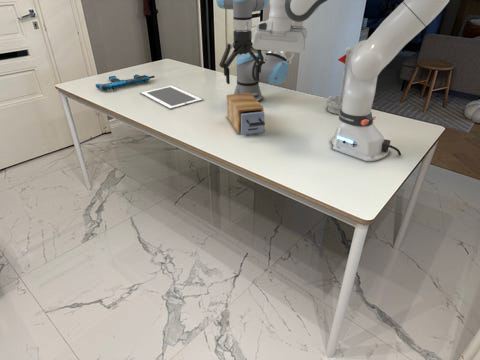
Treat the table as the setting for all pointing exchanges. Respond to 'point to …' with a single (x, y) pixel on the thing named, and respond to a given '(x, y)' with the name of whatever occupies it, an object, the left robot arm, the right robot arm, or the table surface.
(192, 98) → the tablet
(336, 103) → the flag stand
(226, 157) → the table surface
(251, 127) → the drawer
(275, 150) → the table surface
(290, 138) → the table surface
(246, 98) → the cabinet
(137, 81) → the submachine gun
